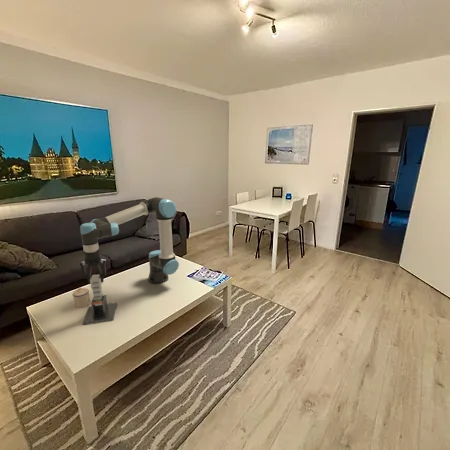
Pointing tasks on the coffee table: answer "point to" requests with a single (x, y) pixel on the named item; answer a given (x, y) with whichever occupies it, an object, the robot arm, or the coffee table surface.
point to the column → (96, 289)
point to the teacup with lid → (81, 297)
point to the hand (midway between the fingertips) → (97, 287)
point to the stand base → (100, 312)
